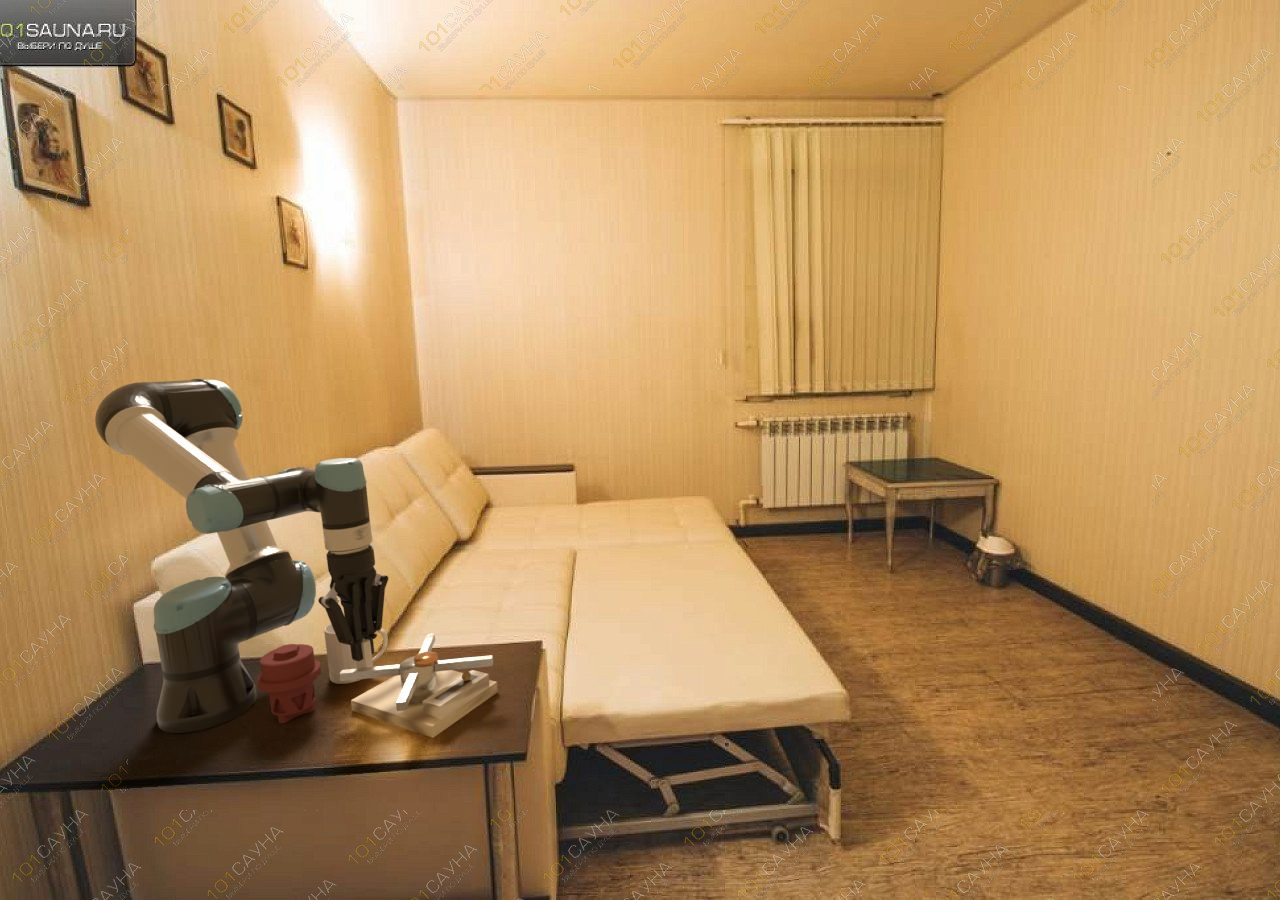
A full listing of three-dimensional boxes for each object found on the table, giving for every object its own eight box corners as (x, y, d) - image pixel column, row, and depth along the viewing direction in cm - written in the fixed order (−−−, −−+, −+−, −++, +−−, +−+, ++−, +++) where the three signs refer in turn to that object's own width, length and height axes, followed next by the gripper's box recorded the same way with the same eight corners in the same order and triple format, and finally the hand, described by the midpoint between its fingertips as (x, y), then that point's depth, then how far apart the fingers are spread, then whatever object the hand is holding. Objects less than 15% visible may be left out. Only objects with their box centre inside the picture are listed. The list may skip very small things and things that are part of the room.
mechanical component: (337, 700, 120) (299, 731, 110) (290, 697, 122) (248, 727, 112) (330, 637, 118) (290, 663, 108) (282, 635, 120) (239, 660, 110)
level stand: (352, 710, 116) (348, 678, 115) (420, 671, 130) (417, 642, 129) (433, 737, 106) (429, 703, 106) (497, 691, 120) (495, 660, 119)
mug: (321, 684, 126) (315, 633, 125) (344, 665, 134) (338, 616, 132) (380, 685, 125) (375, 633, 123) (400, 665, 133) (395, 617, 131)
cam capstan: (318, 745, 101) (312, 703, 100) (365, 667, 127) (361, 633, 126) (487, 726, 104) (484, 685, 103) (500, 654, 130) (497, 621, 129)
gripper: (331, 561, 105) (349, 696, 109) (394, 539, 116) (408, 661, 120) (301, 556, 108) (319, 687, 112) (365, 535, 120) (380, 654, 123)
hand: (365, 674), depth 116 cm, fingers closed
